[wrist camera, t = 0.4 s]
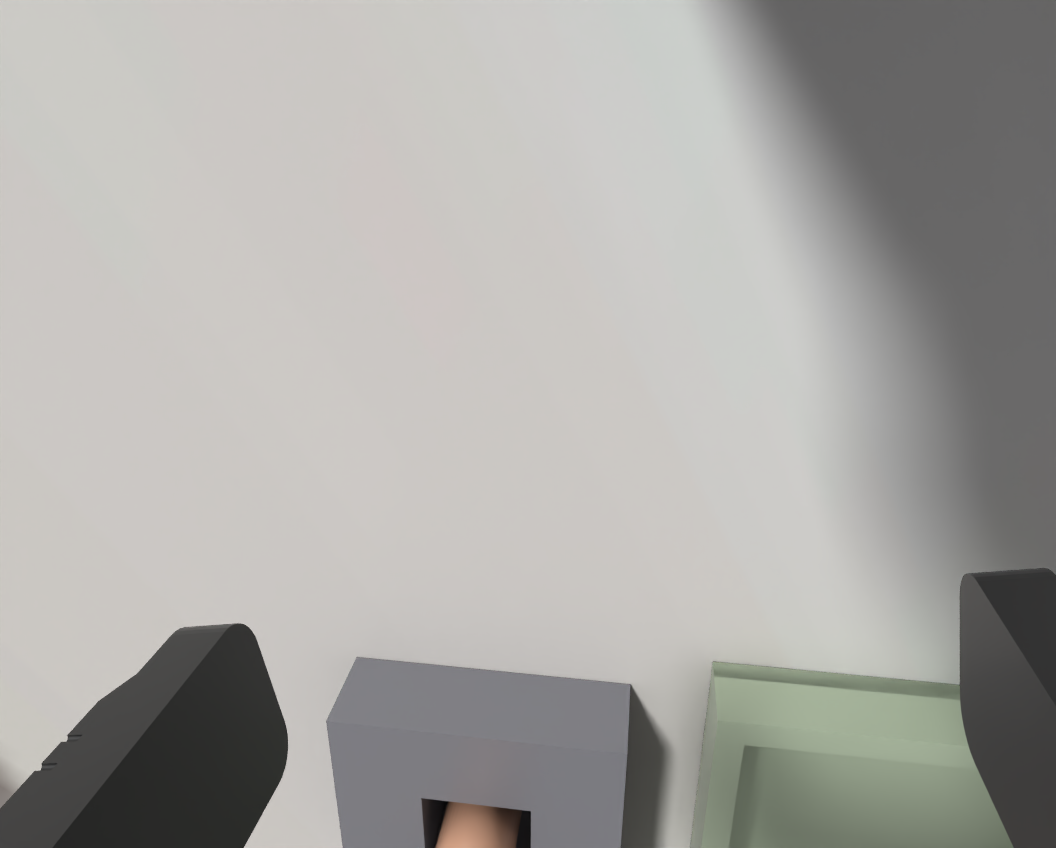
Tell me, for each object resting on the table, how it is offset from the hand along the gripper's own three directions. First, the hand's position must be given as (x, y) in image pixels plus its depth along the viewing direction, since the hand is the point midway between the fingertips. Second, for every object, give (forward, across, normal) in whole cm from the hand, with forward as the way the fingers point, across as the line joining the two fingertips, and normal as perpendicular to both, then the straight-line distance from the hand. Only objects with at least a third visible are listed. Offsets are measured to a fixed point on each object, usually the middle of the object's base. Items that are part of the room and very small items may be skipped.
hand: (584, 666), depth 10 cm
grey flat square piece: (+19, +9, +20) cm, 29 cm away
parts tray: (+20, -7, +23) cm, 31 cm away
